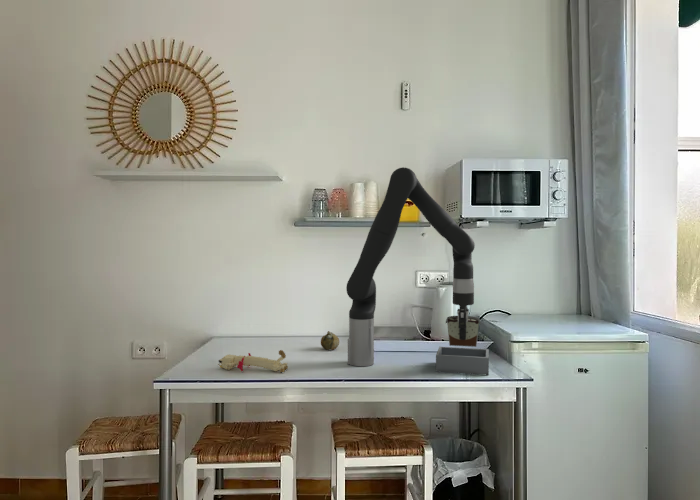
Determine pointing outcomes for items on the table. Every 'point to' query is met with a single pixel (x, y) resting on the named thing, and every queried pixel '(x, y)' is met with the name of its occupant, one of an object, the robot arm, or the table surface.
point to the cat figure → (253, 362)
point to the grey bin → (462, 360)
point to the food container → (470, 331)
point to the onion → (329, 341)
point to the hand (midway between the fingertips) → (462, 337)
